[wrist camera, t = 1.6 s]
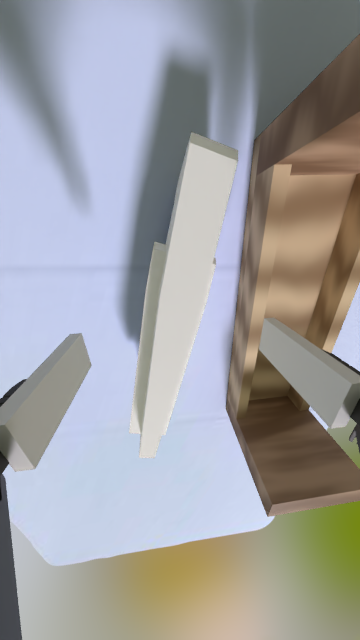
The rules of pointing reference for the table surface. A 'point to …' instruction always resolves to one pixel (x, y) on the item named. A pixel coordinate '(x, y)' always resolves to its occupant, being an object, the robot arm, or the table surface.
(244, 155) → the table surface
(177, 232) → the shelf bracket
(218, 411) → the table surface
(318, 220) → the cradle
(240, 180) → the table surface
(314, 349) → the robot arm
